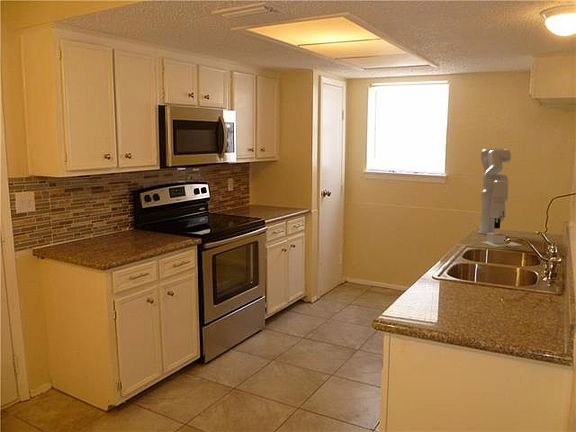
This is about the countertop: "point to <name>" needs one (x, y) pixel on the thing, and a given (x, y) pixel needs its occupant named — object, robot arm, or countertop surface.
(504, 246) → the mat
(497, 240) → the small box
